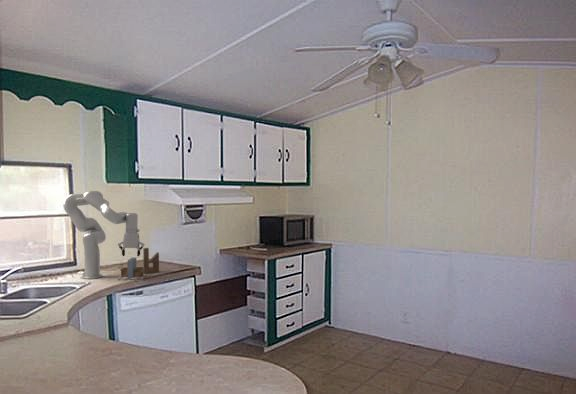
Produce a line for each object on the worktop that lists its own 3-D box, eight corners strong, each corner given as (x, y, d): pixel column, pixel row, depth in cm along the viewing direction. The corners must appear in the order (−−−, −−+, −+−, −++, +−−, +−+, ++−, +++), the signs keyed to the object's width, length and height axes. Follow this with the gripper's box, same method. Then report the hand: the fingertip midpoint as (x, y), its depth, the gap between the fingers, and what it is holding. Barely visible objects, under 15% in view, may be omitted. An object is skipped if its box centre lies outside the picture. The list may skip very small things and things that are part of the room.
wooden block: (159, 271, 303) (158, 247, 303) (144, 273, 297) (144, 248, 296) (157, 271, 306) (157, 246, 306) (142, 272, 300) (142, 248, 299)
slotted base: (117, 280, 277) (117, 269, 277) (122, 276, 288) (122, 266, 288) (142, 279, 279) (142, 268, 279) (146, 275, 290) (146, 265, 290)
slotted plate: (127, 278, 278) (127, 260, 278) (132, 274, 289) (131, 257, 289) (132, 278, 278) (132, 260, 278) (136, 274, 289) (136, 257, 289)
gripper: (145, 230, 287) (145, 255, 288) (119, 230, 285) (119, 255, 286) (143, 232, 280) (142, 257, 281) (116, 231, 278) (116, 256, 278)
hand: (131, 256), depth 283 cm, fingers open, 9 cm apart
